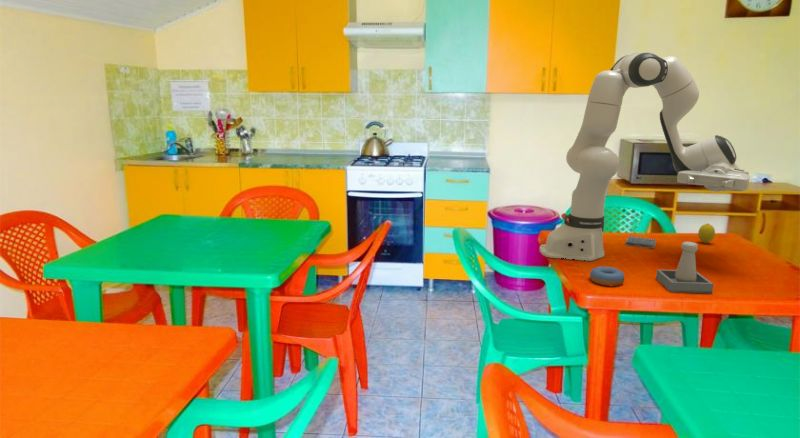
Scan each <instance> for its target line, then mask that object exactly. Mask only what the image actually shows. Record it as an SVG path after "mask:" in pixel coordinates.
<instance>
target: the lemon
mask: <svg viewBox="0 0 800 438" xmlns="http://www.w3.org/2000/svg"><path fill="white" fill-rule="evenodd" d="M697 234H698V238H699V240H700V241H702V242H703V243H704V244H708V243H709V242H710V243H711V242H712V241H713V240H714V238H715V236H716V230H715V227H714V226H713V225H711V224H710V223H708V222H706V223H704V224H702V225H701V226H700V227H699V229H698V233H697Z"/></svg>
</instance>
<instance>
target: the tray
mask: <svg viewBox="0 0 800 438" xmlns="http://www.w3.org/2000/svg"><path fill="white" fill-rule="evenodd" d="M676 270H677V269H656V275H655V279H656V280H657V282H659V283H660V284H661V285H662V286H663V285H664V286H665V287H666V288H665V289H666V290H667V291H669V292H670V293H679V292H681V293H683V294H685V293H686V294H687V293H688V294H708V293H709V294H711V295H712V294H713V290H714V283H713V282H711V281H710V280H709V279H708V278H706V277H705V276H703V274H701V273H700V272H698V271H697V270H696V277H697V278H696V281H695V282H677V281H676V278H675V273H676ZM664 286H663V287H664ZM679 294H680V293H679Z"/></svg>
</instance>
